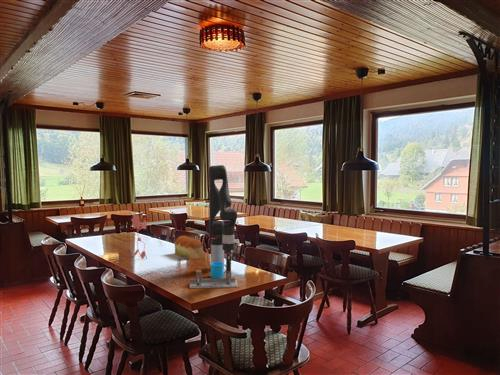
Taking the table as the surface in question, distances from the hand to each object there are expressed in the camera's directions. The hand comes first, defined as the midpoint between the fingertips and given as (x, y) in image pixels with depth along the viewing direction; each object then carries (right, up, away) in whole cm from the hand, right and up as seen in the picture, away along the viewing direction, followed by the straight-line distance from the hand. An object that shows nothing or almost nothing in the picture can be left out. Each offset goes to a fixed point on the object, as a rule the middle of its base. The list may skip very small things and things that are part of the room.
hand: (228, 270), depth 230 cm
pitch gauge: (-9, -8, -4) cm, 12 cm away
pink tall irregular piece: (-75, -5, +63) cm, 98 cm away
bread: (-36, -5, +74) cm, 82 cm away
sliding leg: (0, -6, -2) cm, 6 cm away
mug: (-7, -8, +17) cm, 20 cm away
